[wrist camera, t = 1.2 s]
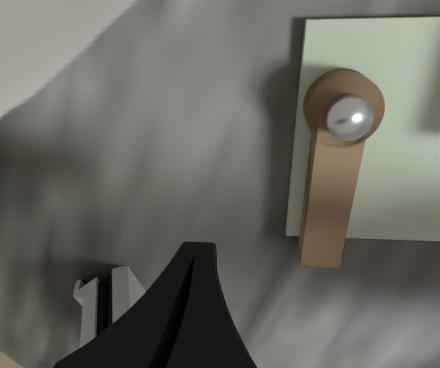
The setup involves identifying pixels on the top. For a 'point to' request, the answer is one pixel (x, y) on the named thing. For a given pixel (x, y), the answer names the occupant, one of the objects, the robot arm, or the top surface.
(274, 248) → the top surface
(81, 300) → the grey piece
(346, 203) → the link
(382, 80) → the base board
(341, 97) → the pin
